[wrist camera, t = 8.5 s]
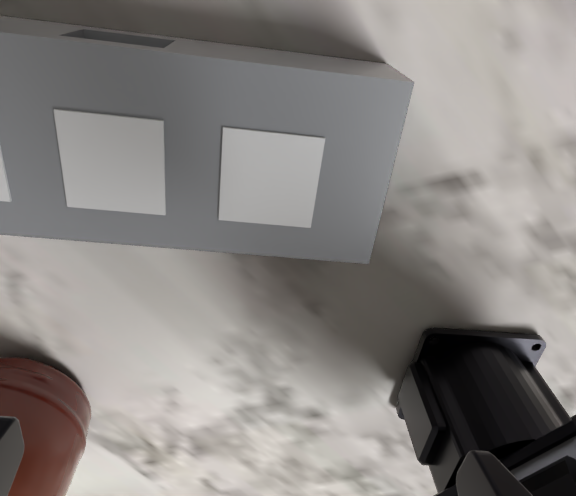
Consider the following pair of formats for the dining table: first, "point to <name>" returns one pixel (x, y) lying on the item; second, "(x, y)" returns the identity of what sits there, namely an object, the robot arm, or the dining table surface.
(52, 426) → the mug
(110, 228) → the power strip
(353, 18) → the dining table surface
